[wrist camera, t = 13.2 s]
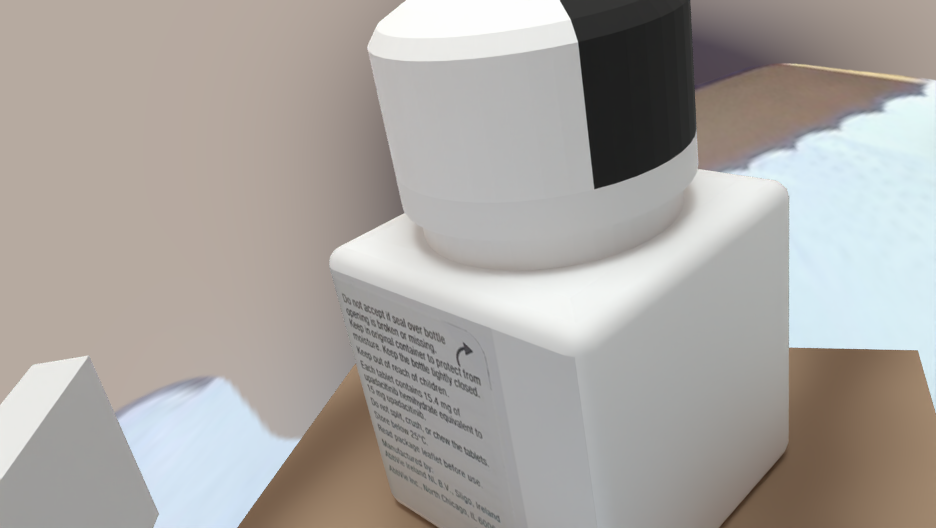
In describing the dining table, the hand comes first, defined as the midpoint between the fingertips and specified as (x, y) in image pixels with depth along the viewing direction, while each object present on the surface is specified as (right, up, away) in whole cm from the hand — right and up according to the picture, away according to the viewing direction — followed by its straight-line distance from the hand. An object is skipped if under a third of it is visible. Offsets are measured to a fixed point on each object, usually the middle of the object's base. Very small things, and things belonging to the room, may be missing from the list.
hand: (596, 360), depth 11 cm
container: (+2, -5, +11) cm, 12 cm away
